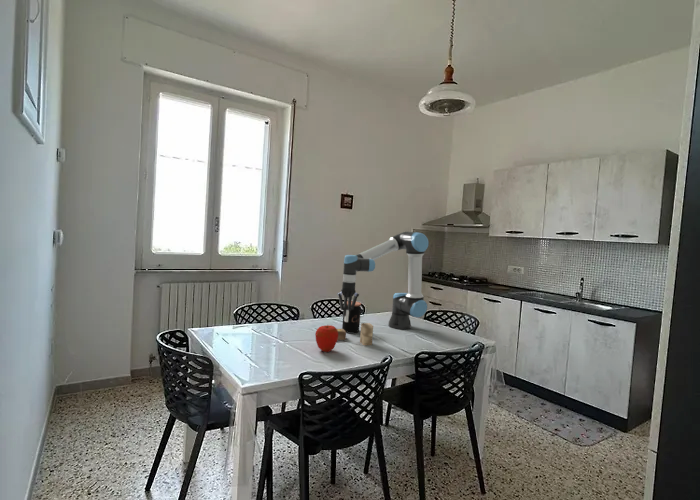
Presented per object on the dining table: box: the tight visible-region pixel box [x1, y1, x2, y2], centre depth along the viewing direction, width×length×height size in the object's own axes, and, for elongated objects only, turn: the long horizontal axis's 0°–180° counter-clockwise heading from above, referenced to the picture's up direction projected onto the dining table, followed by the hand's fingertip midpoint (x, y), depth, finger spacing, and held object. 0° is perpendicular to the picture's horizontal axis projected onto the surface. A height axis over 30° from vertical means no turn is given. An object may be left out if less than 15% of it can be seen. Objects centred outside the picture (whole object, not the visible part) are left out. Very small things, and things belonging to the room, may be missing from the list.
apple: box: [315, 324, 338, 353], centre depth 205 cm, size 12×12×14 cm
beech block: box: [359, 322, 374, 346], centre depth 223 cm, size 5×6×11 cm
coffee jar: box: [341, 300, 362, 334], centre depth 246 cm, size 11×11×18 cm
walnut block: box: [336, 328, 347, 341], centre depth 229 cm, size 5×6×11 cm
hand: (346, 321), depth 230 cm, fingers closed
